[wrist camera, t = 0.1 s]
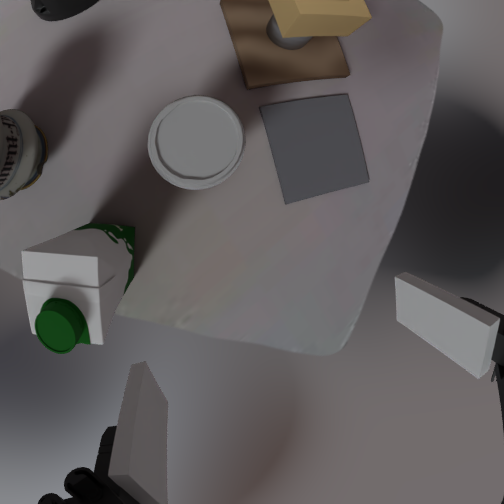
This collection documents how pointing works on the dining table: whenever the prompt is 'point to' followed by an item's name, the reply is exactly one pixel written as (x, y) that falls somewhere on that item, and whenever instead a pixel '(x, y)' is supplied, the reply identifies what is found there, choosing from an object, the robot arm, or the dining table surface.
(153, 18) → the dining table surface
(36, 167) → the apothecary jar
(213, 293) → the dining table surface
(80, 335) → the milk carton
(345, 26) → the collar
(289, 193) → the mat
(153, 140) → the disposable coffee cup
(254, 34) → the stand
